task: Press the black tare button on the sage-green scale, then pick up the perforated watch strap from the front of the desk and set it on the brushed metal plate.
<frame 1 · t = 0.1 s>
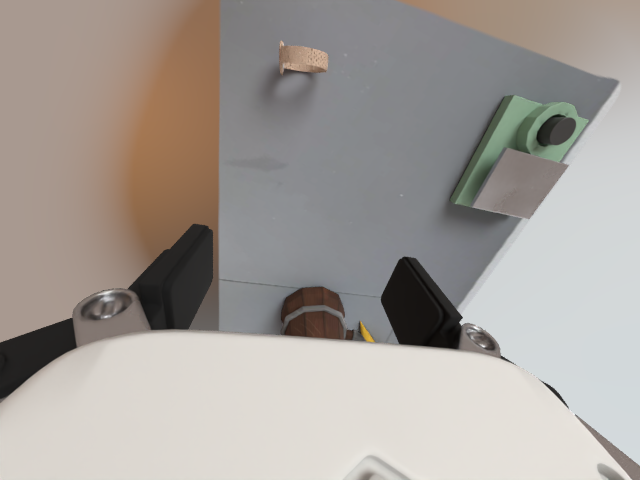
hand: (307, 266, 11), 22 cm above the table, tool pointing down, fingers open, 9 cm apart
tare button: (555, 131, 27), point 4 cm above the table, slide at 0.1 cm
brushed metal plate: (498, 179, 34), resting on scale
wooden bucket: (322, 309, 45), on the table
ice cream cone: (371, 345, 52), on the table
perforated watch strap: (303, 66, 25), on the table
scale: (509, 162, 32), on the table
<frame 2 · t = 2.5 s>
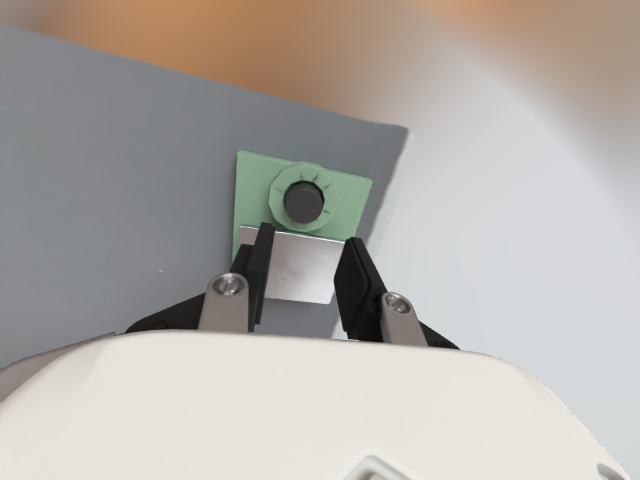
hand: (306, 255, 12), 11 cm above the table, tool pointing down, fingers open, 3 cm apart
tare button: (303, 203, 19), point 4 cm above the table, slide at 0.1 cm
brushed metal plate: (291, 250, 25), resting on scale
scale: (295, 230, 24), on the table
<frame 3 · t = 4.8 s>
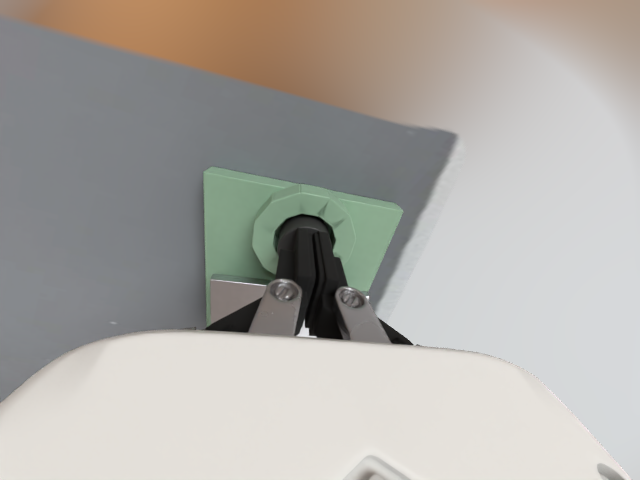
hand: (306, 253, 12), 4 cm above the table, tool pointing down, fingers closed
tare button: (304, 243, 13), point 3 cm above the table, slide at -0.4 cm, touching gripper
brushed metal plate: (287, 294, 19), resting on scale
scale: (292, 271, 18), on the table
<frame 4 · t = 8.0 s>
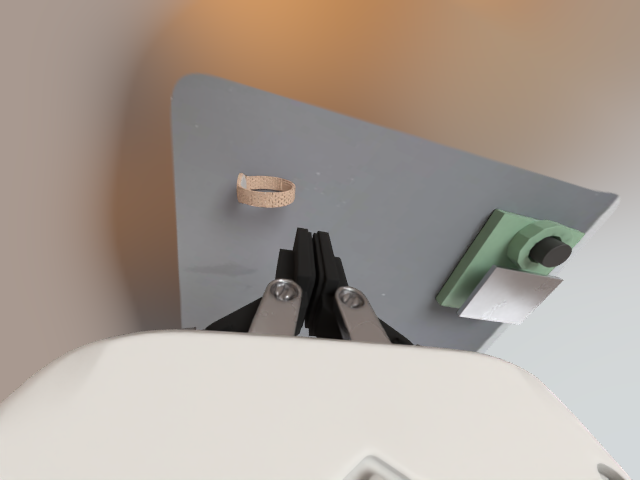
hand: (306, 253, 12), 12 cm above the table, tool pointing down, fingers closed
tare button: (549, 252, 25), point 3 cm above the table, slide at 0.1 cm
brushed metal plate: (488, 280, 31), resting on scale
perforated watch strap: (271, 183, 22), on the table
scale: (499, 265, 30), on the table
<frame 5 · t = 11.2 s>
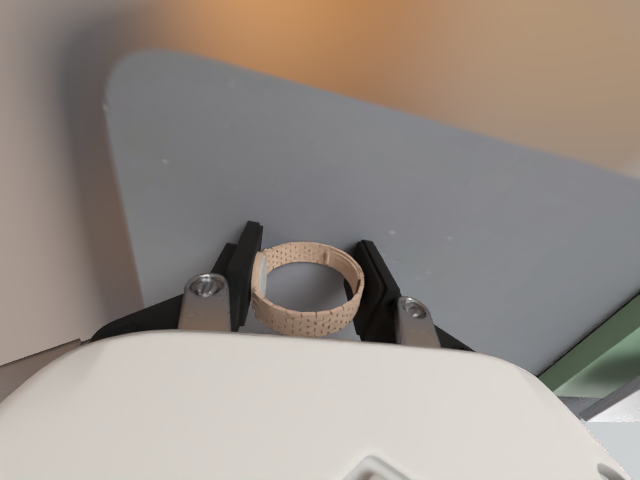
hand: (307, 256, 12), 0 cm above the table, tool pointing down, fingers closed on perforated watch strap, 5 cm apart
brushed metal plate: (616, 356, 21), resting on scale
perforated watch strap: (307, 250, 13), on the table, touching gripper
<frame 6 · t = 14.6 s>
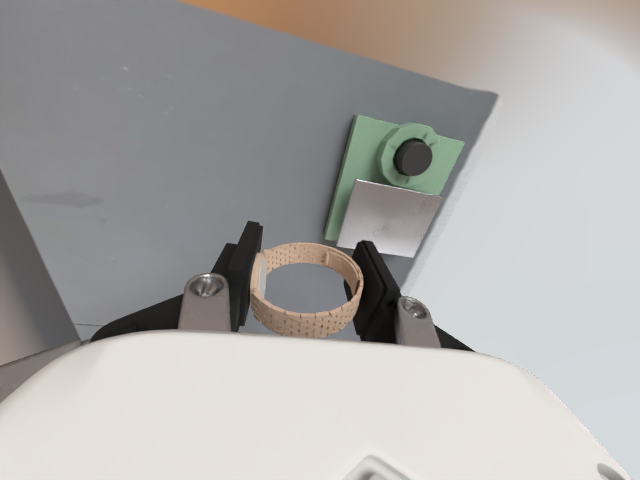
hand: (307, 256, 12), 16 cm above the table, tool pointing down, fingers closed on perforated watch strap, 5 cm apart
tare button: (413, 158, 22), point 3 cm above the table, slide at 0.1 cm
brushed metal plate: (377, 210, 28), resting on scale
perforated watch strap: (307, 251, 13), point 15 cm above the table, touching gripper
scale: (384, 191, 27), on the table
when the fingers open (4 cm above the table, at t = 18.4 s): perforated watch strap stays where it is, resting on brushed metal plate.
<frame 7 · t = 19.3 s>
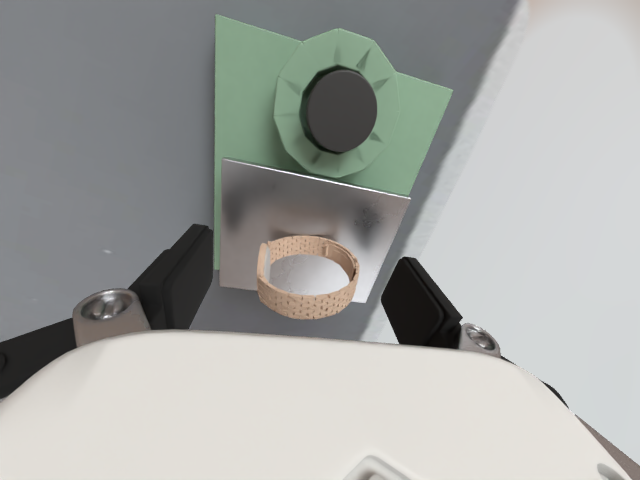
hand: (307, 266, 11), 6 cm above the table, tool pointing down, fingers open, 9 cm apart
tare button: (339, 113, 10), point 3 cm above the table, slide at 0.1 cm
brushed metal plate: (306, 220, 16), resting on scale
perforated watch strap: (307, 243, 13), point 3 cm above the table, touching brushed metal plate
scale: (313, 187, 15), on the table
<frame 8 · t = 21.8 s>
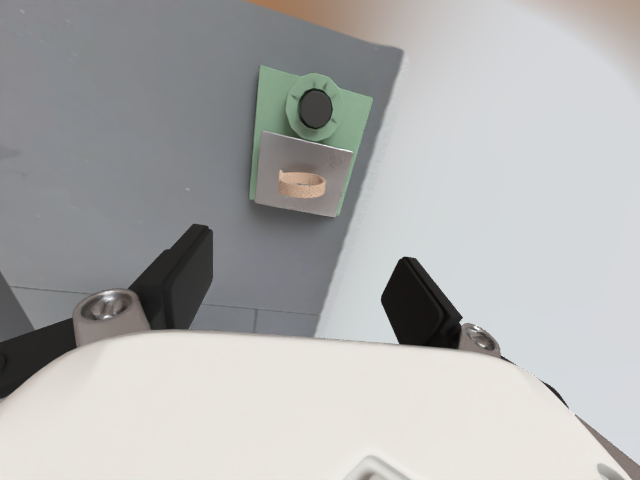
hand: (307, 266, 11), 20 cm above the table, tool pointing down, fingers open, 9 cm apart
tare button: (315, 109, 22), point 3 cm above the table, slide at 0.1 cm
brushed metal plate: (301, 171, 29), resting on scale
perforated watch strap: (302, 178, 26), point 3 cm above the table, touching brushed metal plate
scale: (305, 150, 28), on the table
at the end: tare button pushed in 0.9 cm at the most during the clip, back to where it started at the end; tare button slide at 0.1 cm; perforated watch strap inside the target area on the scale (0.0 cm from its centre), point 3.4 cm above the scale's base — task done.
